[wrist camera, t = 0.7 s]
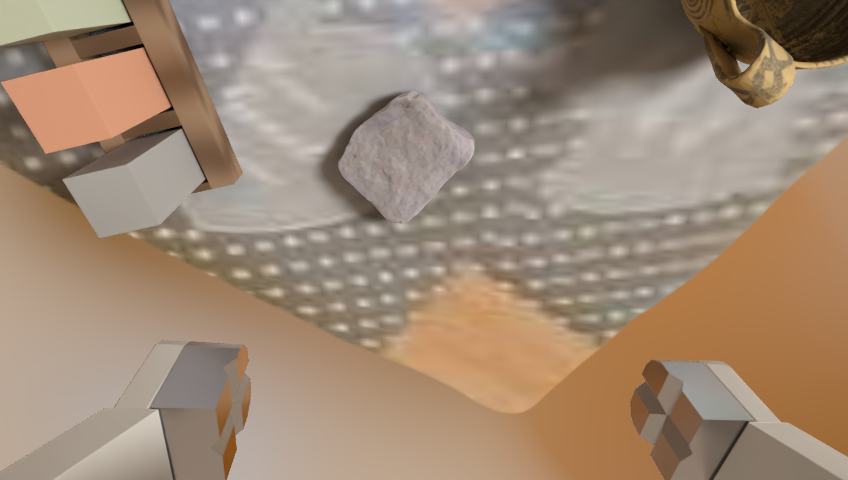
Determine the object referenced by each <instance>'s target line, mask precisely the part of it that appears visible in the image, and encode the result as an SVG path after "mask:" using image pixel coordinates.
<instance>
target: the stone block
mask: <svg viewBox="0 0 848 480" xmlns="http://www.w3.org/2000/svg"><path fill="white" fill-rule="evenodd" d="M474 144H475V140H474V138H473V137H472V135H471V134H470V133H469V131H468V130H466V129H465V128H463V127H461V126H459V125H458V124H456V123H454V122H452V121H451V120H449V119H447V118H445V117H444V116H442V115H441V114H440V113H439V112H438V111H437V109H436V108H435V106H434V105H433V104H432V103H431V102H430V101H429V99H428V98H427V97H426V96H425V95H424V94H422V93H418V92H416V91H408V92H406V93H403V94H400V95H399V96H397V97H395V98H394V99H393V100H392V101H391V102H390V103H388V104H387V105H386V106H385V107H384V108H382V109H381V110H380V111H378V112H376V113H375V114H374V115H373V116H372V117H371V118H369V119H368V120H366V121H364V123H363V124H362V125H360V126H359V127H358V128H357V129H356V130H355V131H354V132H353V134H352V137H351V138H350V141H349V144H348V145H347V146H346V148H345V152H344V154H343V155H342V156H341V158H340V159H339V161H338V168H339V171H340V173H341V175H342V176H343V178H344V179H345V180H346V181H347V182H349V183H350V184H351V185H352V186H353V187H354V188H355V189H356V190H357V191H358V192H359V193H360V194H361V195H362V196H363V197H365V198H366V199H367V200H368V201H370V202H371V203H372V204H373V205H374V206H375V207H376V208H377V210H378V211H379V212H380V213H381V214H382V216H383V217H385V218H386V219H387V220H389V221H390V222H393V223H406V222H408V221H410V220H411V219H412V218H413V217H414V216H416V215H417V214H418V213H419V212H420V211H421V210H422V208H423V207H424V206H425V205H426V204H427V203H428V202H429V201H430V200H431V199H432V198H433V197H434V195H435V194H436V193H437V192H438V190H439V189H440V188H441V187H442V185H443V184H444V183H445V182H446V181H447V180H448V179H449V178H450V177H452V176H453V175H454V173H455V172H456V171H458V170H459V169H461V168H462V167H464V166H465V165H466V164H467V163H468V162H469V160H470V159H471V158H472V156H473V153H474Z"/></svg>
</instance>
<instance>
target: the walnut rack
mask: <svg viewBox="0 0 848 480" xmlns="http://www.w3.org/2000/svg"><path fill="white" fill-rule="evenodd" d="M123 1H124V4H125V6H126V8H127V10H128V12H129V14H130V16H131V18H132V21H133V23H134V25H133V26H129V27H125V28H121V29H117V30H113V31H109V32H105V33H101V34H97V35H93V36H90V34H89V33H85V34H81V35H77V36H72V37H65V38H58V39H52V40H45V41H42V42H43V44H44V46H45V48H46V49H47V51H48V53H49V55H50V56H51V58H52V60H53V62H54V63H55V65H56V67H57V68H60V67H64V66H68V65H72V64H76V63H80V62H85V61H89V60H93V59H97V58H101V55H100V54H104V53H108V52H112V51H116V50H120V49H124V48H128V47H132V46H136V45H140V44H144V46H145V48H146V50H147V52H148V55H149V57H150V59H151V61H152V63H153V65H154V67H155V69H156V72H157V74H158V76H159V78H160V80H161V82H162V84H163V86H164V89H165V91H166V93H167V95H168V97H169V99H170V101H171V103H172V107H170V108H168V109H166V110H164V111H162V112H160V113H158V114H157V115H155V116H153V117H151V118H149V119H147V120H145V121H143V122H141V123H140V124H138V125H136V126H134V127H132V128H130V129H128V130H126V131H124V132H123V133H121V134H119V135H117V136H115V137H113V138H110V139H106V140H102V141H99V143H100V144H101V146H102V148H103V150H104V151H105V153H106V154H108V153H109V152H111V151H113V150H114V149H116V148H118V147H120V146H121V145H123V144H125V143H127V142H128V141H130V140H133V139H138V138H142V137H143V136H142V135H143V134H148V133H152V132H156V131H160V130H165V129H169V128H173V127H177V126H182V127H183V129H184V131H185V133H186V135H187V137H188V140H189V142H190V144H191V146H192V148H193V150H194V152H195V154H196V156H197V159H198V161H199V163H200V165H201V167H202V169H203V171H204V173H205V177H206V179H205V180H204V181H203V182H202V183H201V184H200V185H199V186H198V187H197V188H196V189H195V190H194V191H193V192H192V193H196V192H201V191H205V190H209V189H214V188H218V187H223V186H227V185H231V184H234V183H235V182H236V180H237V179H238V178H239V177H240V176H241V174H242V170H241V168H240V166H239V163H238V161H237V159H236V156H235V154H234V152H233V149H232V147H231V145H230V142H229V140H228V138H227V135H226V133H225V131H224V128H223V126H222V124H221V121H220V119H219V117H218V114H217V112H216V110H215V107H214V105H213V103H212V100H211V98H210V96H209V93H208V91H207V89H206V86H205V84H204V82H203V79H202V77H201V75H200V72H199V70H198V68H197V65H196V63H195V61H194V58H193V56H192V54H191V51H190V49H189V47H188V44H187V42H186V40H185V37H184V35H183V33H182V30H181V28H180V26H179V23H178V21H177V19H176V16H175V14H174V12H173V9H172V7H171V5H170V2H169V0H123ZM192 193H191V194H192Z"/></svg>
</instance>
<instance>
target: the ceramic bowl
mask: <svg viewBox="0 0 848 480" xmlns="http://www.w3.org/2000/svg"><path fill="white" fill-rule="evenodd" d="M681 4H682V7H683V9H684V12H685V13H686V15H687V17H688V18H689V20H690V22H691V23H692V25H693V26H694V28H695V29H696V30H697V31H698V33H700V34H701V35H702V36H703V39H704V42H705V46H706V49H707V53H708V56H709V58H710V61H711V64H712V67H713V69H714V72H715V75H716V77H717V78H718V80H719V81H720V82H721V83H723V84H724V85H725V86H727V87H728V88H729V89H731V90H732V91H733V92H734V93H735V94H736V95H737V96H738V97H739V98H740V99H741V100H742V101H743V102H744V103H745V104H748V105H750V106H753V107H755V108H759V107H763V106H766V105H769V104H772V103H773V102H775V101H777V100H779V99H780V98H781V97H782V96H783V95H784V94H785V93H786V92H787V90H788V89H789V88H790V86H791V85H792V83H793V81H794V77H795V69H814V68H825V67H831V66H836V65H840V64H844V63H846V62H848V0H681ZM736 60H738V61H740V62H743V63H745V64H749V65H750V66H749V67H748V68H747V69H746V70H745V71H744V72H741V70H740V68H739V66H738V63H737V61H736Z"/></svg>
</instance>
